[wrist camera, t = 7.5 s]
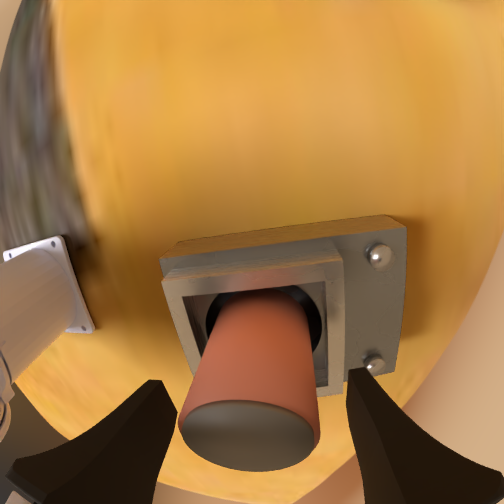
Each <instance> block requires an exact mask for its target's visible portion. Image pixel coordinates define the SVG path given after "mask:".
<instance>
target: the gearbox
mask: <svg viewBox="0 0 504 504" xmlns="http://www.w3.org/2000/svg"><path fill="white" fill-rule="evenodd" d="M406 260H407V227H406V226H404V225H402V224H401V223H399V222H397V221H395V220H394V219H392V218H390V217H388V216H386V215H377V216H369V217H360V218H351V219H343V220H334V221H326V222H318V223H310V224H302V225H295V226H287V227H279V228H272V229H264V230H257V231H250V232H242V233H235V234H228V235H221V236H214V237H208V238H201V239H194V240H187V241H181V242H178V243H177V244H175V245H174V246H173V247H172V248H171V249H170V250H168V251H167V252H166V253H165V254H164V255H163V256H162V257H160V258H159V262H160V266H161V270H162V273H163V277H164V279H163V280H162V281H161V284H162V287H163V290H164V294H165V297H166V300H167V303H168V307H169V310H170V313H171V316H172V319H173V322H174V325H175V328H176V331H177V334H178V337H179V339H180V342H181V345H182V348H183V351H184V353H185V356H186V359H187V361H188V364H189V367H190V369H191V372H192V374H193V377H194V376H195V374H196V371H197V368H198V366H199V363H200V361H201V358H202V356H203V353H204V350H205V348H206V345H207V343H208V340H209V338H210V335H211V333H212V330H213V327H214V325H215V322H216V320H217V317H218V315H219V312H220V310H221V308H222V306H223V305H224V303H225V302H226V301H227V300H228V299H229V298H230V297H232V296H233V295H235V294H236V293H238V292H240V291H244V290H254V289H263V288H273V289H276V290H280V291H282V292H285V293H286V294H288V295H290V296H291V297H293V298H294V299H295V300H296V301H297V302H299V304H300V305H301V306H302V307H303V309H304V311H305V313H306V316H307V319H308V325H309V333H310V340H311V348H312V356H313V365H314V373H315V382H316V391H317V397H323V396H330V395H337V394H343V382H345V381H348V370H349V369H355V368H360V367H366V368H367V369H368V371H369V372H370V373H371V375H372V376H378V375H382V374H387V373H391V372H394V370H395V365H396V359H397V353H398V347H399V340H400V333H401V325H402V317H403V307H404V296H405V282H406Z"/></svg>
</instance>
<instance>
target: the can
mask: <svg viewBox="0 0 504 504" xmlns="http://www.w3.org/2000/svg"><path fill="white" fill-rule="evenodd" d="M178 428H179V430H180V433H181V434H182V437H183V440H184V441H185V443H186V444H187V446H188V447H189V448H190V449H191V450H192V451H193V452H195V453H196V454H197V455H199V456H200V457H202V458H204V459H206V460H208V461H210V462H212V463H214V464H217V465H220V466H223V467H226V468H230V469H235V470H241V471H251V472H264V471H274V470H280V469H284V468H287V467H290V466H293V465H295V464H297V463H299V462H301V461H303V460H304V459H305V458H307V457H308V456H309V455H310V453H311V452H312V451H313V450H314V448H315V447H316V446H317V444H318V443H319V440H320V422H319V411H318V401H317V391H316V382H315V373H314V365H313V356H312V348H311V340H310V333H309V325H308V319H307V316H306V313H305V311H304V309H303V307H302V306H301V305H300V304H299V302H297V301H296V300H295V299H294V298H293V297H291V296H290V295H288V294H286V293H285V292H282V291H280V290H276V289H273V288H263V289H254V290H244V291H240V292H238V293H236V294H235V295H233V296H232V297H230V298H229V299H228V300H227V301H226V302H225V303H224V305H223V306H222V308H221V310H220V312H219V315H218V317H217V320H216V322H215V325H214V327H213V330H212V333H211V335H210V338H209V340H208V343H207V345H206V348H205V350H204V353H203V356H202V358H201V361H200V363H199V366H198V368H197V371H196V374H195V376H194V379H193V381H192V384H191V387H190V389H189V392H188V394H187V397H186V400H185V402H184V405H183V407H182V410H181V413H180V415H179V418H178Z"/></svg>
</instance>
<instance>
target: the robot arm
mask: <svg viewBox="0 0 504 504" xmlns="http://www.w3.org/2000/svg"><path fill="white" fill-rule="evenodd" d="M54 242H55V243H54ZM55 244H56V245H55ZM3 256H4V260H5V262H4V263H2V264H0V442H1V441H2V439H3V438H4V436H5V434H6V432H7V430H8V428H9V424H10V419H11V410H10V406H9V403H8V402H9V401H10V400H11V399H12V397H13V396H14V395H15V394H14V392H13V390H12V388H11V384H12V383H13V382H14V381H15V380H16V379H17V378H18V377H19V376H20V375H21V374H22V373H23V372H24V371H25V370H26V369H27V368H28V367H29V365H30V364H31V363H32V362H33V361H34V360H35V359H36V358H37V357H38V356H39V355H40V354H41V353H42V352H44V351H45V350H46V349H47V348H48V347H49V346H50V345H51V344H52V343H53V342H54V341H55V340H56V339H57V338H58V337H59V336H60V335H61V334H62V333H63V332H71V333H90V334H91V333H93V332H94V331H95V326H94V324H93V322H92V319H91V317H90V314H89V312H88V309H87V307H86V304H85V302H84V299H83V297H82V294H81V291H80V288H79V286H78V283H77V280H76V277H75V274H74V271H73V268H72V265H71V262H70V258H69V255H68V252H67V248H66V245H65V241H64V239H63V237H62V236H60V235H58V236H54V237H51V238H47V239H44V240H40V241H37V242H33V243H30V244H26V245H23V246H20V247H16V248H13V249H10V250H7V251H5V252H4V253H3ZM346 408H347V415H348V422H349V428H350V432H351V435H352V439H353V443H354V447H355V450H356V454H357V458H358V462H359V466H360V470H361V474H362V479H363V487H364V496H365V504H496V503H498V502H499V501H500V500H502V499H503V498H504V477H503V475H502V473H501V472H499V471H497V470H494V469H491V468H488V467H485V466H483V465H480V464H478V463H476V462H473V461H471V460H469V459H467V458H465V457H463V456H461V455H460V454H458V453H456V452H454V451H453V450H451V449H450V448H448V447H446V446H444V445H443V444H442V443H440V442H439V441H437V440H436V439H434V438H433V437H431V436H430V435H429V434H428V433H427V432H425V431H424V430H423V429H422V428H421V427H419V426H418V425H417V424H416V423H415V422H414V421H413V420H412V419H411V418H409V417H408V416H407V415H406V414H405V413H404V412H403V411H402V410H401V409H400V408H399V407H398V405H397V404H396V403H395V402H394V401H393V400H392V399H391V398H390V397H389V396H388V394H387V393H386V392H385V391H384V390H383V389H382V387H381V386H380V385H379V384H378V382H377V381H376V380H375V379H374V377H373V376H372V375H371V373H370V372H369V371H368V369H367V368H366V367H360V368H355V369H349V370H348V385H347V397H346ZM177 413H178V412H177V410H176V408H175V406H174V404H173V402H172V400H171V398H170V396H169V394H168V392H167V390H166V388H165V386H164V384H163V382H162V380H148V381H147V382H145V383H144V384H143V385H142V386H141V387H140V388H138V389H137V390H136V391H135V392H134V393H133V394H132V395H131V396H130V397H129V398H127V399H126V400H125V401H124V402H123V403H122V404H121V405H119V406H118V407H117V408H116V409H115V410H114V411H113V412H111V413H110V414H109V415H108V416H106V417H105V418H104V419H102V420H101V421H100V422H99V423H97V424H96V425H95V426H93V427H92V428H90V429H89V430H87V431H86V432H84V433H83V434H81V435H79V436H78V437H76V438H74V439H72V440H70V441H69V442H67V443H64V444H62V445H60V446H58V447H56V448H54V449H51V450H49V451H46V452H43V453H40V454H36V455H33V456H29V457H24V458H19V459H16V460H15V462H14V463H13V465H12V466H11V468H10V470H9V471H8V473H7V474H6V476H5V477H6V479H7V480H8V481H9V482H11V483H12V484H13V485H14V486H15V487H17V488H18V489H19V490H20V491H21V492H23V493H24V494H25V495H27V496H28V497H29V498H30V499H32V500H33V501H35V502H34V504H152V501H153V495H154V491H155V486H156V481H157V478H158V474H159V471H160V469H161V466H162V463H163V460H164V458H165V455H166V452H167V450H168V447H169V444H170V441H171V438H172V436H173V433H174V428H175V424H176V418H177ZM5 504H31V503H29V502H28V501H27V500H25V499H24V498H23V497H21V496H20V495H19V494H18V493H16V492H15V491H13V492H12V493H11V495H10V497H9V498H8V500H7V502H6V503H5Z"/></svg>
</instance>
